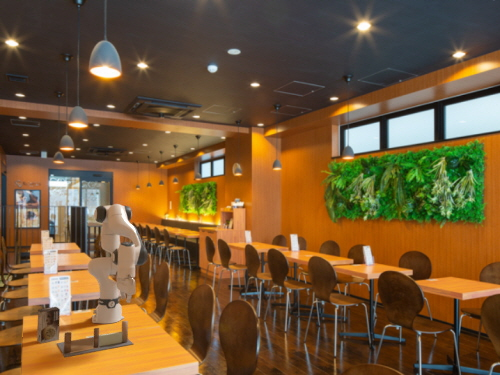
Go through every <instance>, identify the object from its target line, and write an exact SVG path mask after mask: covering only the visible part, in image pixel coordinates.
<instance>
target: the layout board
mask: <svg viewBox="0 0 500 375" xmlns="http://www.w3.org/2000/svg"><path fill="white" fill-rule="evenodd" d="M92 337H93V338H94V336H92ZM99 340H100V335H99ZM56 345H57V347H58V349H59V350H60V352H61V354H62V355H63V357H64V358H68V357H69V358H70V357H74V356H79V355H83V354H84V355H85V354H86V355H87V354H89V353H95V352H96V353H97V352H101V351H106V350H111V349H116V348H123V347H127V346H133V345H134V343H133V341H131V340H130V339H129V338H128V341H127V342H121V343H115V344H110V345H104V346H99V347H98V348H91V349H85V350H80V351H74V352H70V353H67V354H65V353H64V341H63V342H62V341H61V342H57V343H56ZM93 345H94V343H93Z"/></svg>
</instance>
